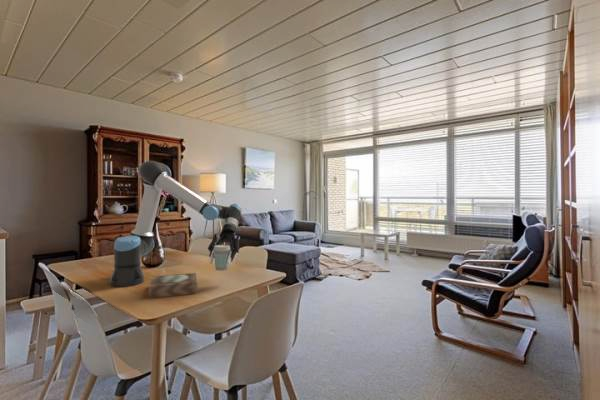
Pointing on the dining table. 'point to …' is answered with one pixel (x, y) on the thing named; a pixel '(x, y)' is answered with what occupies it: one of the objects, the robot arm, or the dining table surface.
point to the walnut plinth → (173, 285)
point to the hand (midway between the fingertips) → (219, 263)
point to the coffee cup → (221, 256)
